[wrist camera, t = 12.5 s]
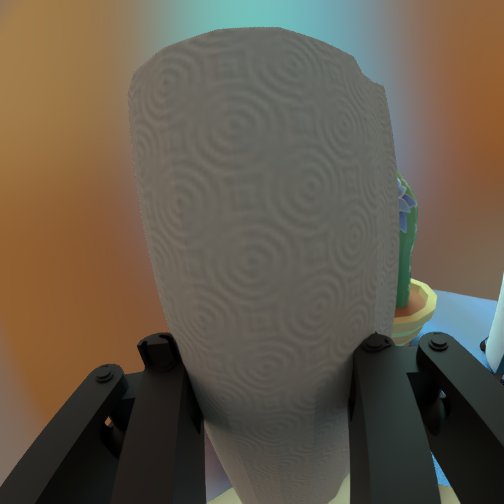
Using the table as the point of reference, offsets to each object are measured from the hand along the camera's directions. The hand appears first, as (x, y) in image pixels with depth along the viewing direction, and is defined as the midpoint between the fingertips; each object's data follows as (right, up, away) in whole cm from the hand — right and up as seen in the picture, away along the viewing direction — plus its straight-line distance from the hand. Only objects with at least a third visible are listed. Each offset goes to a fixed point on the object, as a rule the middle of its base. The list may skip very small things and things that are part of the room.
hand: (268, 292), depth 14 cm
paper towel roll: (+2, -13, -2) cm, 14 cm away
